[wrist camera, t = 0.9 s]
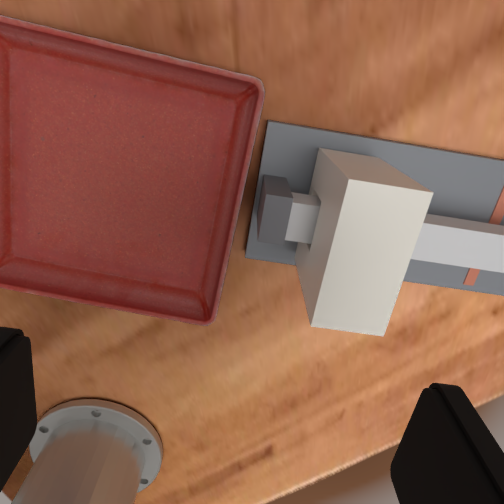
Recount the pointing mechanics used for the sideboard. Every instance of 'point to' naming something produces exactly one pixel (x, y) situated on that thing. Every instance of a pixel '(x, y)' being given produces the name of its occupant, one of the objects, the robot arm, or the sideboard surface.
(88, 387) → the sideboard surface
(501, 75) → the sideboard surface
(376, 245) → the white sliding block
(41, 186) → the plant saucer
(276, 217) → the gray slide rail base
